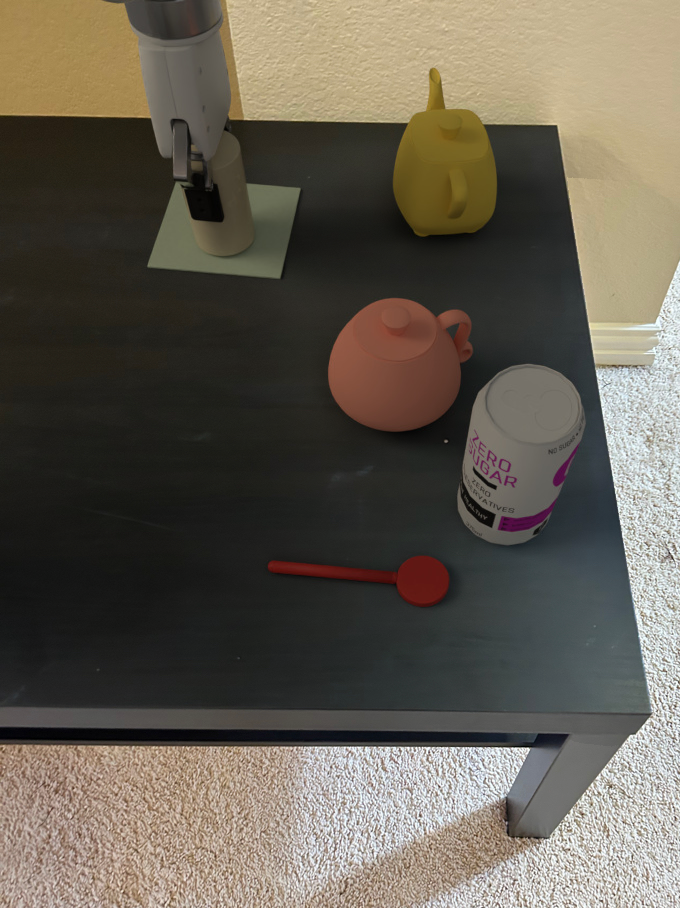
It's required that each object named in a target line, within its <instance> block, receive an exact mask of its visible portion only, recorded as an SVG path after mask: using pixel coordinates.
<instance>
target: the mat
mask: <svg viewBox="0 0 680 908" xmlns="http://www.w3.org/2000/svg"><path fill="white" fill-rule="evenodd" d="M247 189H248V194H249V200H250V206H251V211H252V217H253V223H254V228H255V238H254V240H253V242H252V244H251V245H250V246H249V247H248V248H247V249H245V250H244V251H242V252H240V253H237V254H234V255H229V256H216V255H212V254H209V253H207V252H205V251H203V250H202V249H201V248H200V247H199V246H198V245H197V243H196V241H195V238H194V234H193V230H192V227H191V223H190V219H189V215H188V212H187V208H186V204H185V200H184V197H183V193H182V189H181V185H180V184H179V183H177V182H175V184H174V187H173V189H172V193H171V195H170V198H169V202H168V204H167V207H166V210H165V213H164V216H163V219H162V222H161V224H160V228H159V230H158V233H157V237H156V238H155V242H154V245H153V247H152V251H151V254H150V256H149V259H148V263H147V266H146V268H147V269H157V270H167V271H168V270H169V271H179V272H180V271H181V272H192V273H202V274H213V275H214V274H215V275H225V276H226V275H227V276H236V277H237V276H238V277H249V278H259V279H261V278H262V279H273V280H281V278H282V275H283V270H284V265H285V261H286V255H287V252H288V247H289V243H290V239H291V234H292V230H293V226H294V222H295V221H294V220H295V216H296V212H297V208H298V204H299V199H300V195H301V190H302V189H301V187H292V186H281V185H270V184H257V183H247Z"/></svg>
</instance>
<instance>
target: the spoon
mask: <svg viewBox="0 0 680 908" xmlns="http://www.w3.org/2000/svg"><path fill="white" fill-rule="evenodd" d="M267 569H268V571H269V572H271V573H274V574H283V575H284V574H285V575H296V576H298V575H299V576H306V577H315V578H327V579H338V580H339V579H340V580H350V581H358V582H369V583H370V582H371V583H380V584H391V585H394V584H396V588H397V592H398V594H399V595H400V597H401V598H402V599H403V600H404V601H405V602H406V603H408V604H410V605H412V606H415V607H420V608H426V607H431V606H434V605H436V604H439V602H441V601H442V600H443V599H444V598H445V597H446V595H447V593H448V591H449V588H450V587H449V586H450V574H449V572H448V570H447V568H446V566H445V565H444V564H443V563H442V562H441V561H440V560H439V559H437V558H435V557H433V556H429V555H416V556H412V557H410V558H408V559H407V560H405V561H404V562H403V563H402V564H401V565H400V567H399V568H398V569H397V570H398V571H397V572H396V571H390V570H379V569H369V568H368V569H367V568H359V567H348V566H338V565H327V564H315V563H304V562H295V561H285V560H284V561H283V560H271V561H269V562H268V563H267Z"/></svg>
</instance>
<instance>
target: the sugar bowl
mask: <svg viewBox="0 0 680 908" xmlns="http://www.w3.org/2000/svg"><path fill="white" fill-rule="evenodd" d="M457 324H459V325H458V328H457V330H456V332H455V334H454V337H453V338H452V336H451V334H450V333H449V331H448V328H450V327H451V326H454V325H457ZM472 326H473V325H472V320H471V317H470V316H469V315H468V313H466V312H465V311H463V310H461V309H449V310H446V311H444V312H442V313H440V314H439V315H437V316H436V315H434V313H433V312H431V311H430V310H429V309H428V308H426V307H425V306H423V304H420V303H419V302H417V301H414V300H410V299H407V298H400V297H390V298H383V299H380V300H377V301H373V302H371V303H370V304H368V305H366V306H364V307H363V308H362V309H361V310H359V311H357V313H356V314H355V315H353V316H352V318H351V319H350V320H349V321H348V322H347V323H346V324H345V326H344V327H343V328H342V330H341V331H340V332H339V334H338V335H337V337H336V340H335V342H334V344H333V346H332V349H331V352H330V356H329V363H328V367H327V368H328V369H327V372H328V373H327V376H328V385H329V389H330V393H331V395H332V397H333V399H334V401H335V403H337V405H338V407H340V409H341V410H342V411H343V413H345V414H346V415H347V416H348V417H350V418H351V419H352V420H353V421H356V422H357V423H359V424H361V425H363V426H365V427H368V428H370V429H373V430H376V431H377V430H378V431H383V432H393V433H394V432H396V433H397V432H406V431H412V430H417V429H420V428H423V427H425V426H427V425H429V424H432V423H433V422H435V421H437V420H438V419H440V418H441V417H442V416H443V415H445V414H446V412H447V411H448V410H450V407H452V405H453V404H454V402H455V400H456V399H457V397H458V395H459V392H460V388H461V381H462V380H461V379H462V371H461V370H462V369H461V364H463V363H465V362H466V361H468V360H469V359H471V357H472V355H473V353H474V348H473V345H472V343H471V342H470V341H468V340H469V338H470V334H471V332H472Z"/></svg>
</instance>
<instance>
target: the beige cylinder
mask: <svg viewBox="0 0 680 908" xmlns="http://www.w3.org/2000/svg"><path fill="white" fill-rule="evenodd" d="M240 144H241V143H240V141H239V140H238V139H237V137H236V136H235V135H233V134H232V132H231V133H229V132H227V131H225V130H223V133H222V136H221V139H220V142H219V145H218V148H217V150H216V153H215V155H214V156H213V158H212V159H211V163H212V175H213V183H215V184H217V185H218V189H219V194H220V198H221V203H222V208H223V212H224V220H223V222H221V223H219V222H208V221H197V220H193V219H192V218H191V215H190V211H189V207H188V203H187V199H186V196H185V192H184V189H182V187H181V189H182V193H183V197H184V200H185V204H186V208H187V212H188V215H189V219H190V223H191V227H192V230H193V234H194V238H195V241H196V243H197V245H198V246H199V247H200V248H201V249H202V250H203V251H205V252H207V253H209V254H212V255H216V256H229V255H234V254H237V253H240V252H242V251H244V250H245V249H247V248H248V247H249V246H250V245H251V244H252V242H253V240H254V238H255V228H254V223H253V217H252V211H251V206H250V200H249V194H248V189H247V184H248V183H247V177H246V173H245V166H244V162H243V156H242V149H241V145H240ZM191 151H198V150H197V148H196V147H195V145H191ZM191 167H192V170H193V171H194V172H195V173H200V174H201V175H203V166H202V162H201V161H191Z"/></svg>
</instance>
